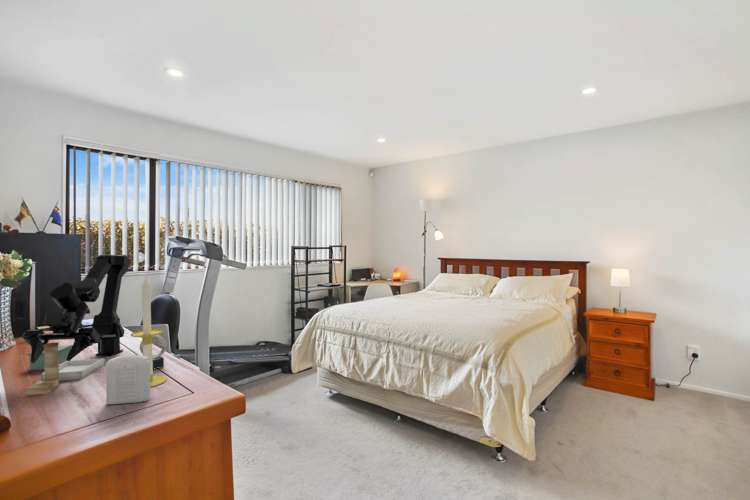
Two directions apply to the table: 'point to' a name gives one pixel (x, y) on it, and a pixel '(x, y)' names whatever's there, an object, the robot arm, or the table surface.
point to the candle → (148, 332)
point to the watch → (157, 359)
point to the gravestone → (128, 379)
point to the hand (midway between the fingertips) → (50, 361)
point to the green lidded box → (39, 364)
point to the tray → (77, 369)
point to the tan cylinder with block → (48, 371)
